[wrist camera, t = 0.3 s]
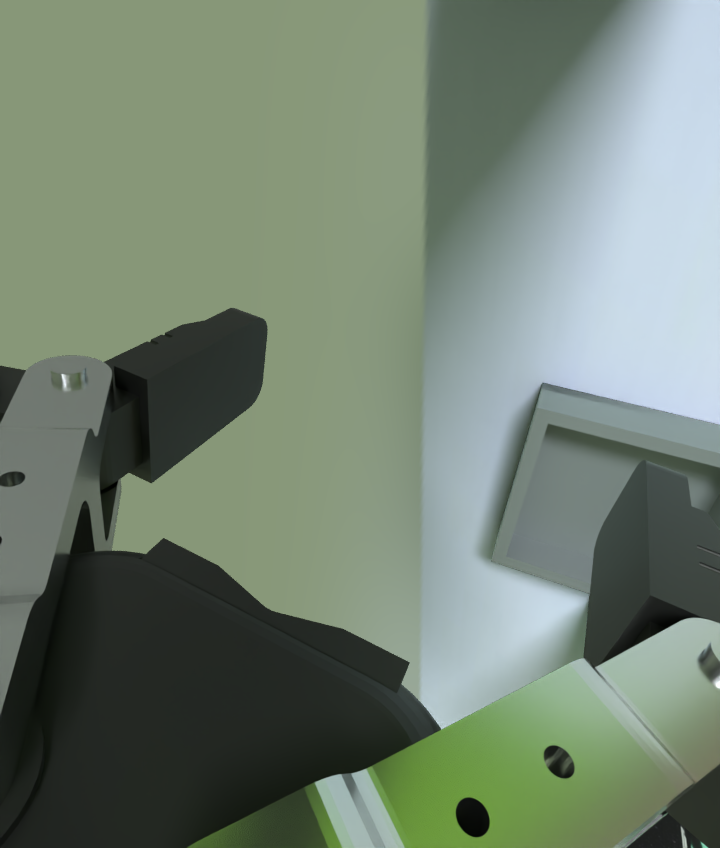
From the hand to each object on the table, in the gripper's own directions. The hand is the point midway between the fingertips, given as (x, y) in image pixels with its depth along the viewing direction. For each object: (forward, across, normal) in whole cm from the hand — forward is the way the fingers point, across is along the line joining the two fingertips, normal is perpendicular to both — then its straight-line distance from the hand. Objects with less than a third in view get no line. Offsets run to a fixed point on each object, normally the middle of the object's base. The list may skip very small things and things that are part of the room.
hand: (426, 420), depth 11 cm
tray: (+19, -8, +11) cm, 23 cm away
